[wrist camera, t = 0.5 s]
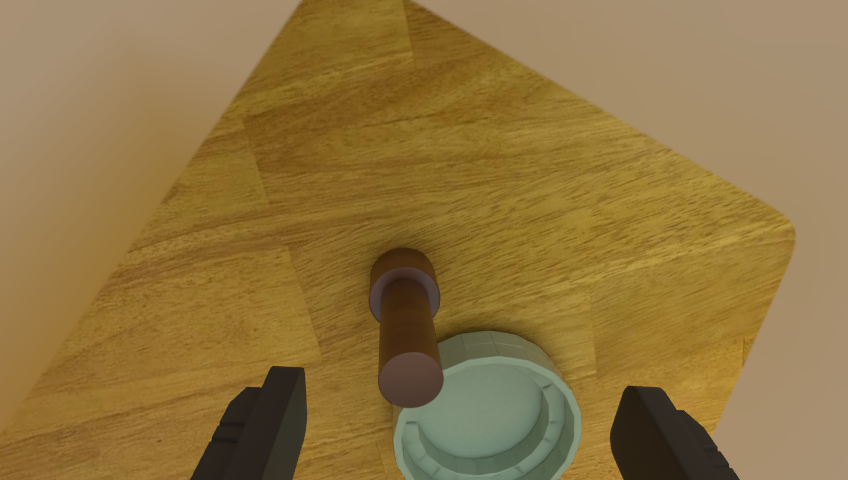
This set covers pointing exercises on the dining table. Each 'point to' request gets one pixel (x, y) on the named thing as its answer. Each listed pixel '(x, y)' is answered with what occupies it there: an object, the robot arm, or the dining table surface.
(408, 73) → the dining table surface
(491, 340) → the bowl
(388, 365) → the pestle
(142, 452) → the dining table surface
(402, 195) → the dining table surface
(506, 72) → the dining table surface
